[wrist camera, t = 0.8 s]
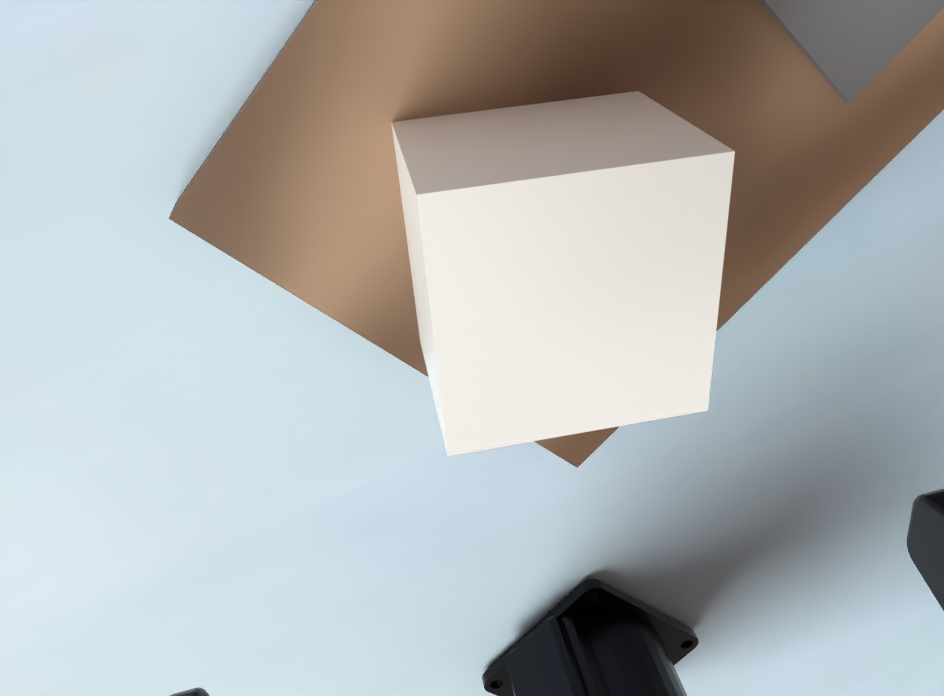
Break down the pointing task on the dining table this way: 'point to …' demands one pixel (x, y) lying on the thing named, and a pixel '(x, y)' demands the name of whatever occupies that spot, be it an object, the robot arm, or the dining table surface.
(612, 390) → the off-white cube box
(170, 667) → the dining table surface
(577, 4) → the post stand
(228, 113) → the dining table surface
